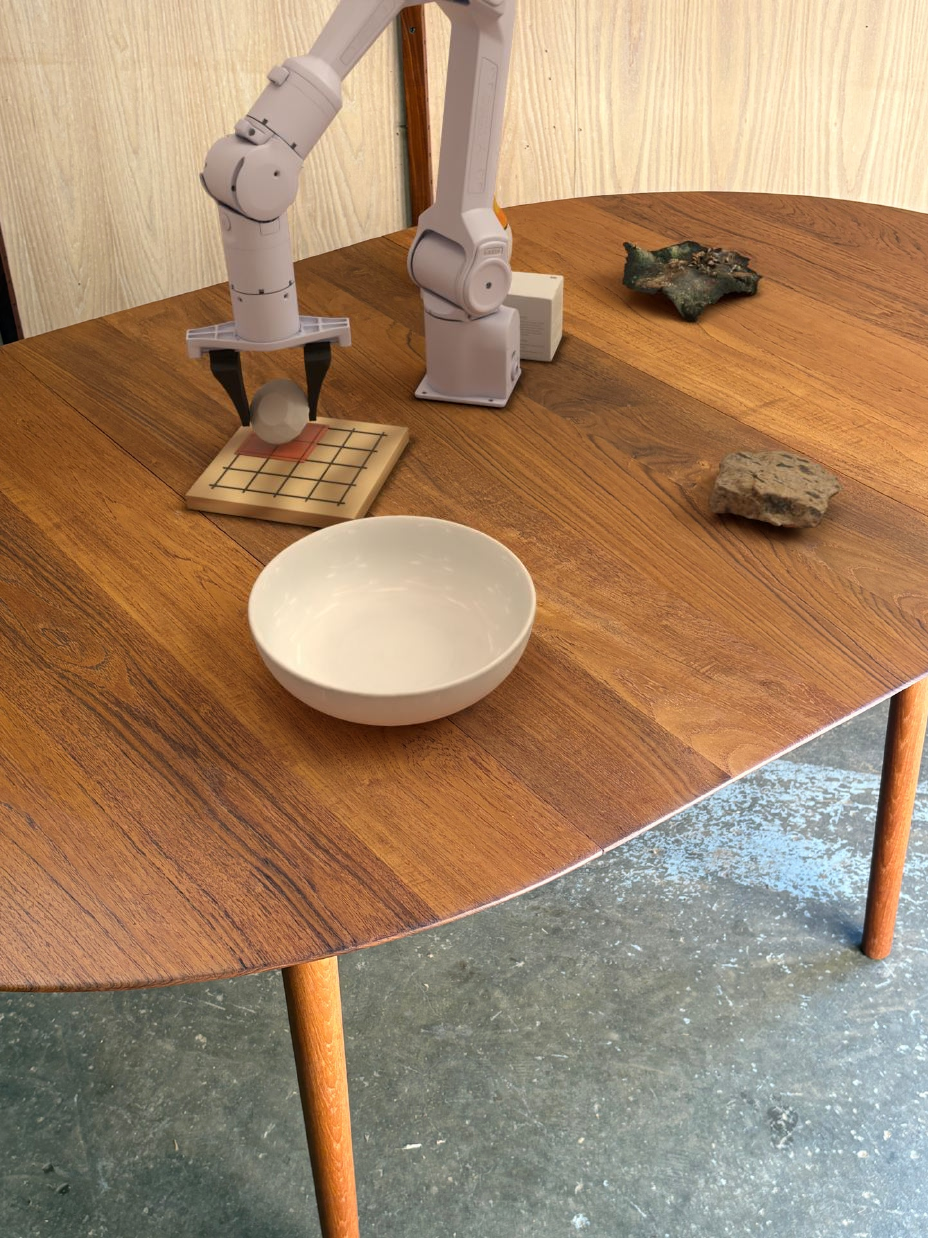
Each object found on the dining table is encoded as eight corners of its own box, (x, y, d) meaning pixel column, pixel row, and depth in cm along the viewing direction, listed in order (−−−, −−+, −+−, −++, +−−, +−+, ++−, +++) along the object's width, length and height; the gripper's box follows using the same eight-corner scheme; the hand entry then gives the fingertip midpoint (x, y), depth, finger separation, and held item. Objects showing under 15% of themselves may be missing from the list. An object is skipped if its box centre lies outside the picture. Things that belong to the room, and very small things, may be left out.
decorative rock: (669, 213, 152) (785, 227, 145) (667, 262, 155) (780, 278, 148) (598, 256, 139) (722, 273, 132) (597, 308, 142) (718, 328, 135)
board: (409, 440, 118) (408, 426, 117) (355, 532, 106) (353, 517, 105) (256, 421, 122) (254, 407, 121) (187, 508, 110) (184, 494, 109)
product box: (509, 332, 136) (509, 269, 132) (563, 337, 135) (565, 274, 130) (496, 356, 132) (495, 292, 127) (551, 362, 130) (552, 298, 126)
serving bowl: (309, 802, 82) (298, 728, 78) (228, 624, 97) (215, 554, 93) (583, 712, 88) (587, 639, 84) (467, 558, 103) (465, 489, 99)
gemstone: (326, 385, 116) (304, 374, 112) (324, 450, 116) (302, 441, 112) (268, 388, 118) (244, 376, 114) (266, 451, 118) (242, 442, 113)
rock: (848, 485, 110) (856, 444, 108) (817, 550, 103) (825, 507, 100) (735, 460, 114) (740, 420, 112) (697, 520, 107) (701, 479, 104)
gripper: (342, 257, 110) (354, 392, 118) (180, 268, 109) (203, 404, 117) (347, 289, 104) (359, 428, 113) (175, 302, 103) (200, 441, 112)
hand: (280, 418), depth 115 cm, fingers closed on gemstone, 5 cm apart
